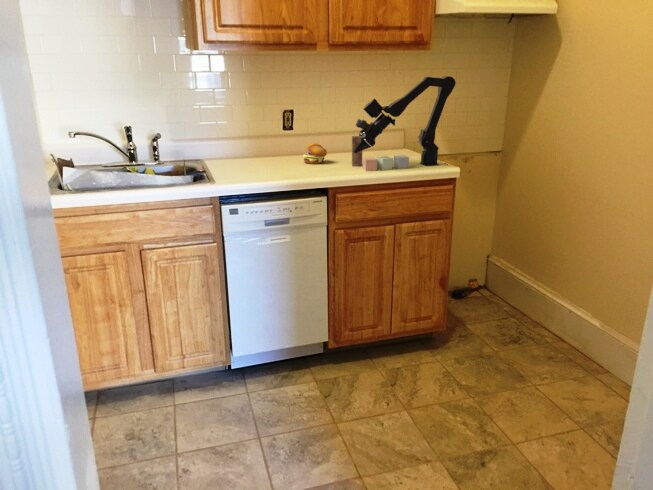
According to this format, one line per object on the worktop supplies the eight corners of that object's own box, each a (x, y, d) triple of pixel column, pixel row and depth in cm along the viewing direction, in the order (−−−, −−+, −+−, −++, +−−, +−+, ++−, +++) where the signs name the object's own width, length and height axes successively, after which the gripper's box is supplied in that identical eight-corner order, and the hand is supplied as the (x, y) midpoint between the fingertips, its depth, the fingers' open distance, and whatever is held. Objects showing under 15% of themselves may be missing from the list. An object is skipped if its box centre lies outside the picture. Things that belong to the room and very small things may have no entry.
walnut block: (361, 164, 252) (361, 135, 248) (362, 166, 248) (362, 137, 244) (351, 164, 252) (351, 136, 248) (352, 166, 248) (352, 137, 244)
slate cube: (403, 166, 248) (404, 155, 246) (408, 168, 243) (408, 157, 242) (393, 167, 247) (393, 155, 245) (398, 169, 242) (398, 157, 240)
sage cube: (386, 167, 246) (386, 156, 244) (392, 169, 242) (392, 157, 240) (376, 168, 244) (376, 157, 242) (382, 170, 240) (382, 159, 238)
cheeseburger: (309, 159, 265) (313, 139, 261) (328, 166, 261) (332, 146, 256) (298, 162, 257) (302, 142, 252) (317, 170, 252) (321, 149, 248)
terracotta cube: (373, 168, 244) (373, 157, 242) (376, 170, 239) (376, 159, 237) (362, 169, 243) (362, 157, 241) (365, 171, 238) (365, 159, 236)
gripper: (364, 110, 251) (340, 135, 255) (368, 114, 234) (342, 141, 237) (381, 127, 254) (357, 151, 258) (386, 133, 236) (360, 159, 240)
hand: (354, 150), depth 248 cm, fingers open, 9 cm apart
